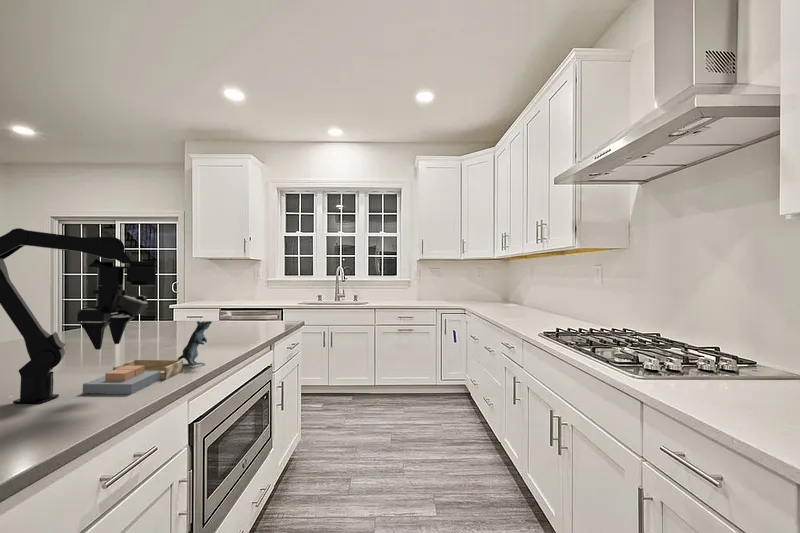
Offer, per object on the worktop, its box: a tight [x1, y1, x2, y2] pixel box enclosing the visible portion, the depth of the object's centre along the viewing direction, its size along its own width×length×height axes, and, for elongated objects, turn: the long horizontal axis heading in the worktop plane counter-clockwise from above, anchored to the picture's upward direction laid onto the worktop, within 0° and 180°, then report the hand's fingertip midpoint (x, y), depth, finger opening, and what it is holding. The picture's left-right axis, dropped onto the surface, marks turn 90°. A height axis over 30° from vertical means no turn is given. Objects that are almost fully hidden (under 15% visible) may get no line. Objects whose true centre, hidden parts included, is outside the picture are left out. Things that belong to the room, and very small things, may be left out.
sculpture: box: [176, 320, 213, 367], centre depth 156 cm, size 8×11×15 cm
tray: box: [112, 359, 184, 381], centre depth 138 cm, size 12×15×4 cm
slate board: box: [82, 371, 160, 395], centre depth 124 cm, size 16×12×2 cm
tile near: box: [104, 369, 135, 381], centre depth 122 cm, size 5×5×2 cm
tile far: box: [117, 366, 145, 377], centre depth 128 cm, size 5×5×2 cm
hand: (107, 346), depth 117 cm, fingers open, 9 cm apart
